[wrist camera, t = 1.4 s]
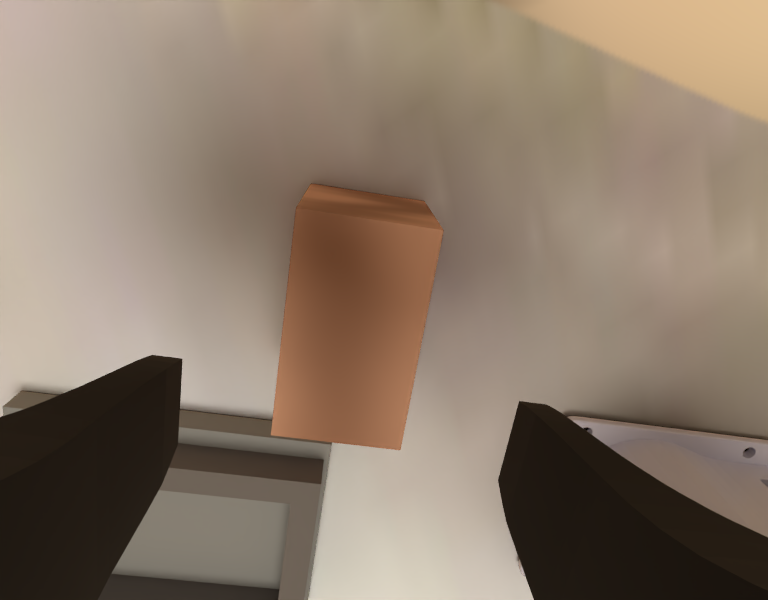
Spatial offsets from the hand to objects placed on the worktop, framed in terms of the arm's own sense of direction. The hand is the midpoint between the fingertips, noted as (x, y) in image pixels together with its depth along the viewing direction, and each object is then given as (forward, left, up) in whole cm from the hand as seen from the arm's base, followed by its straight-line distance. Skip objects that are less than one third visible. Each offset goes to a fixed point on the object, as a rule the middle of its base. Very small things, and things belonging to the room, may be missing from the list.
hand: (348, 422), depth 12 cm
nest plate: (+6, +11, -9) cm, 15 cm away
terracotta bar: (0, 0, -10) cm, 10 cm away
